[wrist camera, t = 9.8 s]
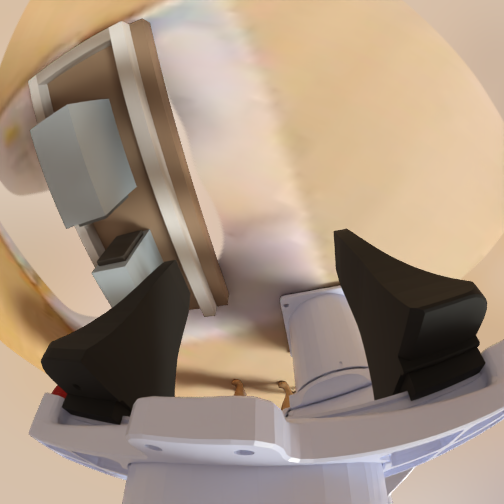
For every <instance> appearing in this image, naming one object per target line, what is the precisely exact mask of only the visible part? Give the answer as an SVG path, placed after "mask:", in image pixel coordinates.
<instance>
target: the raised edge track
mask: <svg viewBox="0 0 504 504" xmlns="http://www.w3.org/2000/svg"><path fill="white" fill-rule="evenodd" d="M28 83H29V89H30V94H31V99H32V103H33V108H34V112H35V116H36V120H37V124H39V123H40V122H42V121H43V120H45V119H46V118H47V117H49V116H50V115H52V114H53V113H55V112H56V111H58V110H59V109H61V108H63V107H64V106H66V105H67V104H73V103H79V102H85V101H93V100H100V99H109V101H110V104H111V108H112V111H113V115H114V118H115V122H116V125H117V129H118V132H119V135H120V138H121V142H122V145H123V148H124V151H125V154H126V157H127V160H128V163H129V166H130V169H131V172H132V175H133V177H134V180H135V183H136V186H137V187H136V188H135V189H134V190H132V191H131V192H130V193H129V194H128V196H129V197H128V198H127V199H126V200H125V201H124V202H123V203H122V204H121V205H120V206H119V207H118V208H117V209H115V210H114V211H113V212H112V213H111V214H110V215H109V216H108V217H107V218H106V219H103V220H100V221H97V222H94V223H91V224H88V225H85V226H82V227H79V225H76V226H75V228H76V230H77V232H78V235H79V237H80V239H81V241H82V243H83V245H84V247H85V249H86V251H87V253H88V255H89V257H90V259H91V261H92V262H93V264H94V266H95V269H94V270H93V272H92V275H93V277H94V278H95V280H96V282H97V283H98V285H99V287H100V289H101V290H102V292H103V294H104V295H105V297H106V299H107V300H108V302H109V303H110V305H111V307H112V308H113V307H114V306H115V305H116V304H118V303H119V302H120V301H121V300H122V299H124V298H125V297H126V296H127V295H128V294H129V293H130V292H131V291H132V290H134V289H135V288H136V287H137V286H138V285H139V284H140V283H141V282H142V281H143V280H144V279H145V278H146V277H147V276H148V275H150V274H151V273H152V272H153V271H154V270H155V269H156V268H157V267H158V266H159V265H161V264H162V263H163V262H165V261H171V260H176V261H177V263H178V265H179V268H180V270H181V273H182V275H183V277H184V279H185V282H186V284H187V286H188V289H189V291H190V293H191V294H190V304H189V310H191V309H199V308H201V311H202V313H203V315H204V317H209V316H215V314H216V308H217V306H223V305H228V297H229V293H228V290H227V287H226V284H225V281H224V278H223V275H222V272H221V269H220V266H219V263H218V260H217V257H216V255H215V252H214V248H213V245H212V242H211V240H210V236H209V233H208V230H207V227H206V224H205V221H204V218H203V215H202V211H201V208H200V205H199V202H198V199H197V195H196V192H195V189H194V186H193V182H192V179H191V176H190V172H189V169H188V166H187V162H186V159H185V155H184V152H183V149H182V145H181V142H180V138H179V135H178V131H177V127H176V124H175V121H174V117H173V113H172V109H171V106H170V102H169V98H168V95H167V91H166V87H165V83H164V79H163V75H162V71H161V67H160V63H159V59H158V55H157V51H156V47H155V43H154V39H153V34H152V30H151V26H150V23H149V22H147V21H146V20H144V19H140V20H138V21H136V22H133V23H131V24H127V23H125V22H123V21H121V22H119V23H117V24H115V25H113V26H111V27H109V28H107V29H105V30H103V31H101V32H99V33H98V34H96V35H94V36H92V37H91V38H89V39H87V40H86V41H84V42H82V43H81V44H79V45H77V46H76V47H74V48H73V49H71V50H70V51H68V52H67V53H65V54H64V55H62V56H61V57H59V58H58V59H56V60H55V61H54V62H52V63H51V64H49V65H48V66H47V67H45V68H44V69H43V70H41V71H40V72H39V73H38V74H36V75H35V76H34V77H33V78H31V79H30V80H29V81H28Z"/></svg>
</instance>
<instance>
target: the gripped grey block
mask: <svg viewBox="0 0 504 504" xmlns="http://www.w3.org/2000/svg"><path fill="white" fill-rule="evenodd" d="M30 133H31V137H32V140H33V143H34V147H35V150H36V153H37V156H38V159H39V162H40V165H41V168H42V171H43V174H44V177H45V179H46V182H47V185H48V187H49V190H50V192H51V195H52V197H53V199H54V202H55V204H56V207H57V209H58V211H59V214H60V216H61V218H62V220H63V223H64V225H65V227H66V229H67V228H70V227H73V226H76V225H79V227H82V226H85V225H88V224H91V223H94V222H97V221H100V220H103V219H106V218H107V217H108V216H109V215H110V214H111V213H112V212H113V211H114V210H115V209H117V208H118V207H119V206H120V205H121V204H122V203H123V202H124V201H125V200H126V199H127V198H128V197H129V196H128V194H129V193H130V192H131V191H132V190H134V189H135V188H136V187H137V186H136V183H135V180H134V177H133V175H132V172H131V169H130V166H129V163H128V160H127V157H126V154H125V151H124V148H123V145H122V142H121V138H120V135H119V132H118V129H117V125H116V122H115V118H114V115H113V111H112V108H111V104H110V101H109V99H100V100H93V101H85V102H79V103H73V104H67V105H66V106H64V107H63V108H61V109H59V110H58V111H56V112H55V113H53V114H52V115H50V116H49V117H47V118H46V119H45V120H43V121H42V122H40V123H39V124H38V125H36V126H35V127H33V128H32V129H31V130H30Z"/></svg>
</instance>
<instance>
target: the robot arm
mask: <svg viewBox="0 0 504 504" xmlns="http://www.w3.org/2000/svg"><path fill="white" fill-rule="evenodd" d="M334 244H335V261H336V271H337V275H338V278H339V282H340V285H339V286H334V287H329V288H324V289H318V290H313V291H307V292H301V293H296V294H290V295H284V296H282V297H281V298H280V304H281V309H282V314H283V319H284V324H285V329H286V334H287V339H288V344H289V349H290V354H291V357H292V358H293V367H294V377H295V388H296V393H295V394H292V395H290V396H289V401H290V407H289V408H285V409H283V410H281V409H280V408H278V407H277V406H276V405H275V404H274V403H273V402H271V401H268V400H265V399H261V398H258V397H254V396H217V397H175V377H176V367H177V358H178V352H179V348H180V344H181V340H182V336H183V332H184V328H185V324H186V320H187V316H188V312H189V304H190V294H191V293H190V291H189V289H188V286H187V284H186V282H185V279H184V277H183V275H182V273H181V270H180V268H179V265H178V263H177V261H176V260H171V261H165V262H163V263H162V264H161V265H159V266H158V267H157V268H156V269H155V270H154V271H153V272H152V273H151V274H150V275H148V276H147V277H146V278H145V279H144V280H143V281H142V282H141V283H140V284H139V285H138V286H137V287H136V288H135V289H134V290H132V291H131V292H130V293H129V294H128V295H127V296H126V297H125V298H124V299H122V300H121V301H120V302H119V303H118V304H116V305H115V306H114V307H113V308H111V309H110V310H109V311H107V312H106V313H105V314H103V315H101V316H100V317H98V318H97V319H95V320H94V321H92V322H91V323H89V324H88V325H86V326H84V327H82V328H80V329H79V330H77V331H75V332H73V333H71V334H69V335H66V336H64V337H62V338H60V339H57V340H55V341H52V342H51V343H50V345H49V346H48V348H47V350H46V352H45V354H44V355H43V357H42V359H41V364H42V367H43V369H44V370H45V372H46V373H47V374H48V376H49V377H50V378H51V379H52V380H53V381H54V382H55V383H56V384H57V385H58V386H59V387H61V388H62V389H63V390H64V391H65V392H66V393H67V395H66V397H65V399H64V398H63V397H61V396H58V395H54V394H50V393H45V394H44V396H43V398H42V401H41V403H40V405H39V408H38V410H37V413H36V415H35V418H34V420H33V423H32V425H31V428H30V431H29V435H30V436H31V437H33V438H34V439H36V440H37V441H39V442H40V443H42V444H43V445H45V446H46V447H48V448H49V449H51V450H52V451H54V452H56V453H57V454H59V455H61V456H62V457H64V458H66V459H68V460H71V461H74V462H76V463H79V464H81V465H83V466H86V467H89V468H92V469H94V470H97V471H99V472H102V473H105V474H108V475H111V476H114V477H117V478H120V479H123V480H126V485H125V491H124V497H123V502H122V504H393V501H392V496H391V493H392V492H393V491H394V490H395V489H396V488H397V487H398V486H399V485H400V484H401V482H402V481H403V480H404V479H405V478H406V477H407V476H408V475H409V474H410V473H411V471H412V470H413V469H414V468H415V467H416V466H418V465H420V464H422V463H425V462H427V461H429V460H432V459H434V458H436V457H438V456H440V455H442V454H444V453H446V452H448V451H450V450H452V449H454V448H456V447H458V446H460V445H462V444H463V443H465V442H467V441H469V440H471V439H472V438H474V437H476V436H477V435H479V434H481V433H482V432H484V431H486V430H487V429H489V428H491V427H492V426H494V425H495V424H497V423H498V422H500V421H502V420H503V419H504V339H503V340H501V341H500V342H498V343H496V344H494V345H492V346H490V347H488V348H487V349H485V350H484V351H483V352H482V353H480V351H479V350H478V348H477V347H478V346H479V343H480V342H479V340H478V338H477V337H476V334H477V332H478V330H479V328H480V326H481V323H482V321H483V319H484V316H485V313H486V310H487V301H486V298H485V297H484V296H483V294H482V293H481V292H480V290H479V289H478V288H477V286H476V285H475V284H474V283H473V282H471V281H465V280H459V279H453V278H448V277H444V276H440V275H436V274H433V273H430V272H427V271H424V270H421V269H418V268H415V267H413V266H410V265H408V264H406V263H404V262H402V261H399V260H397V259H395V258H393V257H391V256H389V255H388V254H386V253H384V252H382V251H381V250H379V249H377V248H376V247H374V246H372V245H371V244H369V243H368V242H366V241H365V240H363V239H362V238H360V237H359V236H357V235H356V234H354V233H353V232H351V231H350V230H348V229H343V230H337V231H334ZM284 304H287V305H284Z"/></svg>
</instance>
